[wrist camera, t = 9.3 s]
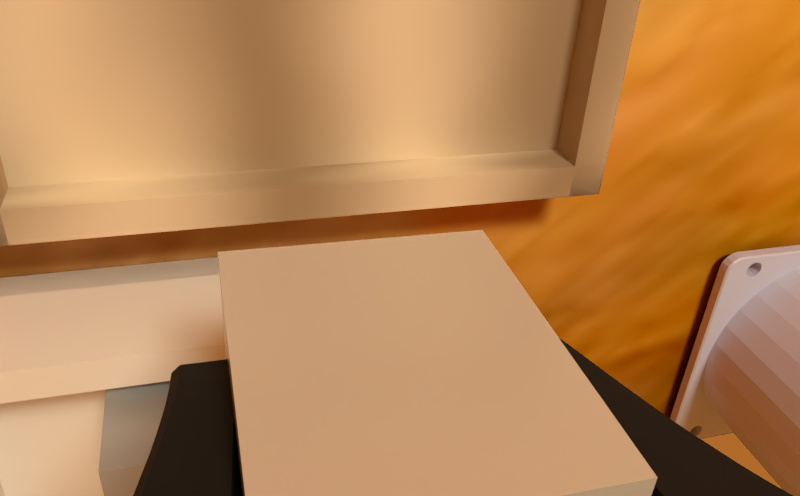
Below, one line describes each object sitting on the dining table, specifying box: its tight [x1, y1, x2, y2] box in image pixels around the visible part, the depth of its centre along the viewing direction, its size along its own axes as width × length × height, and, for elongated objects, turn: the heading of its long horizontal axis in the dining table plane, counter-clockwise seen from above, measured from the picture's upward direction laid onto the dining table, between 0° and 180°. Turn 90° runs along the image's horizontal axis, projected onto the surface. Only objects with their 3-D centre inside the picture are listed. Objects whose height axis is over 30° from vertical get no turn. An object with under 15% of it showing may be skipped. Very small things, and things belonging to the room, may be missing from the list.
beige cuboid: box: [218, 230, 658, 496], centre depth 9 cm, size 4×4×4 cm
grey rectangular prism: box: [98, 381, 170, 496], centre depth 17 cm, size 4×4×4 cm
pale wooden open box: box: [0, 257, 226, 496], centre depth 20 cm, size 12×12×4 cm
